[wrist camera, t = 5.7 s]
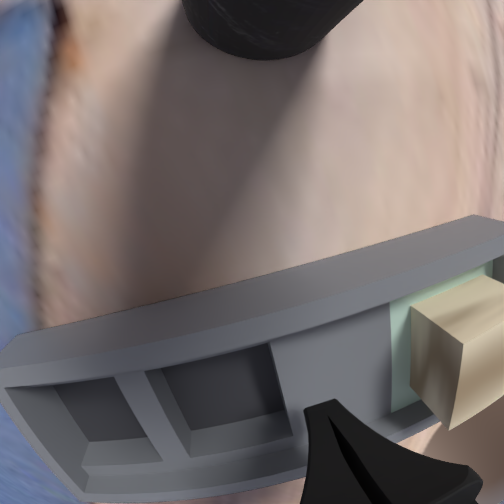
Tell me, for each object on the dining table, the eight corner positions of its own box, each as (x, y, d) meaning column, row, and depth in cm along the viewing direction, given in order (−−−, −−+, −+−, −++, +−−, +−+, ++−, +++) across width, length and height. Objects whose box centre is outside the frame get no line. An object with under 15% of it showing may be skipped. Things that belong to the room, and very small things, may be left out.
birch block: (476, 351, 15) (518, 383, 11) (409, 385, 15) (448, 430, 11) (482, 274, 14) (536, 299, 10) (410, 305, 14) (463, 344, 10)
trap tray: (469, 354, 18) (503, 381, 14) (93, 458, 17) (80, 501, 13) (473, 214, 16) (522, 226, 12) (17, 334, 14) (-19, 371, 10)
